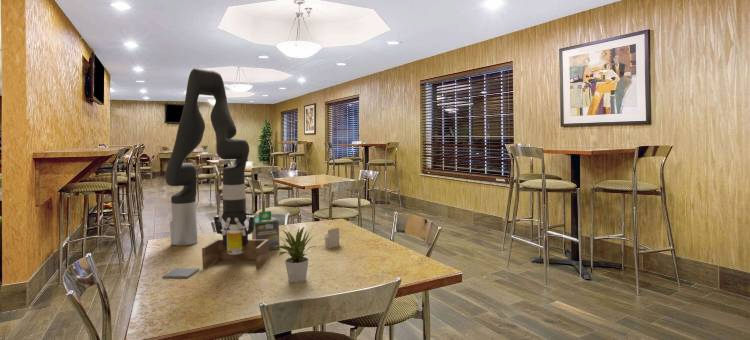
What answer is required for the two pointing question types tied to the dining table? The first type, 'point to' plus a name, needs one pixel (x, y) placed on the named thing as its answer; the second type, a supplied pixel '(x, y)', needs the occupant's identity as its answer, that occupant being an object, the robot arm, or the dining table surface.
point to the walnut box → (251, 251)
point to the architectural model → (332, 238)
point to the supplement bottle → (234, 240)
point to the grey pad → (181, 273)
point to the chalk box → (267, 230)
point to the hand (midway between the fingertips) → (235, 245)
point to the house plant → (296, 256)
